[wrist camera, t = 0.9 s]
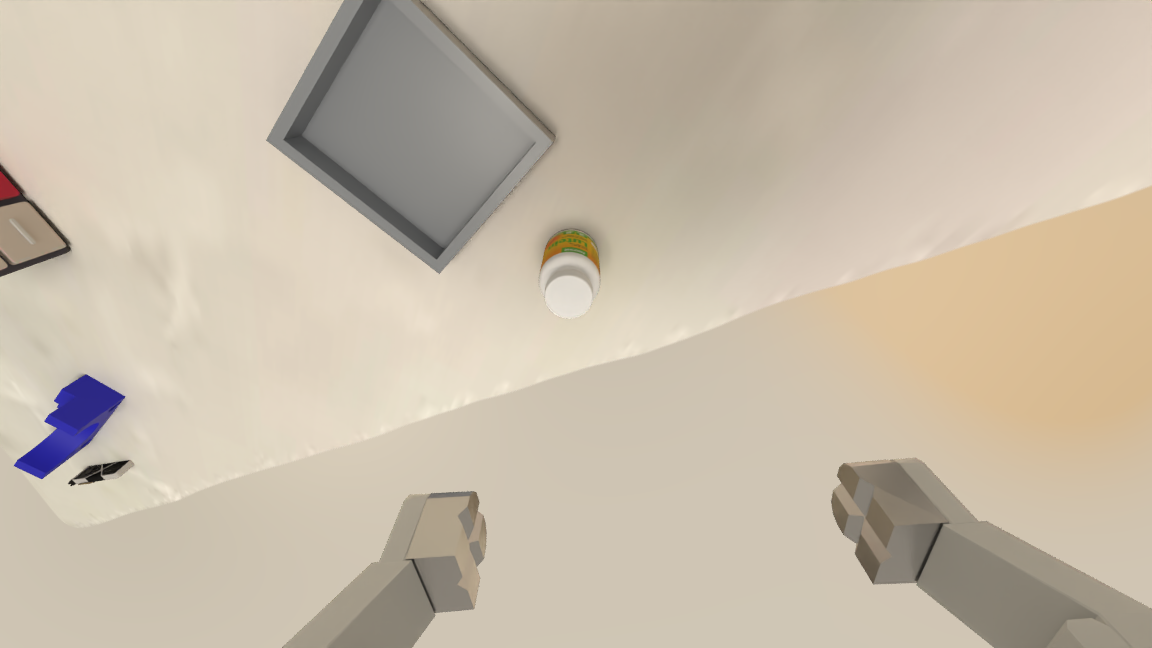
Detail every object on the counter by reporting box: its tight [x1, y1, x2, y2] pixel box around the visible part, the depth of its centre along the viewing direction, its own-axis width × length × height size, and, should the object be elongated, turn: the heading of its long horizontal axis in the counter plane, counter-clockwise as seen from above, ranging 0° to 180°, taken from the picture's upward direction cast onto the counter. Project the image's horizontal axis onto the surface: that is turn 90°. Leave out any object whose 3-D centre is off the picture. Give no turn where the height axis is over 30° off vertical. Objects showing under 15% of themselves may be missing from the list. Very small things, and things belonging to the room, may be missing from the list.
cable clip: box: [14, 375, 125, 479], centre depth 53 cm, size 12×4×6 cm, turn 132°
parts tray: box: [266, 0, 555, 274], centre depth 38 cm, size 16×17×4 cm
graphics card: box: [68, 460, 134, 486], centre depth 59 cm, size 7×1×3 cm, turn 101°
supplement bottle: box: [539, 229, 600, 319], centre depth 40 cm, size 5×5×10 cm
